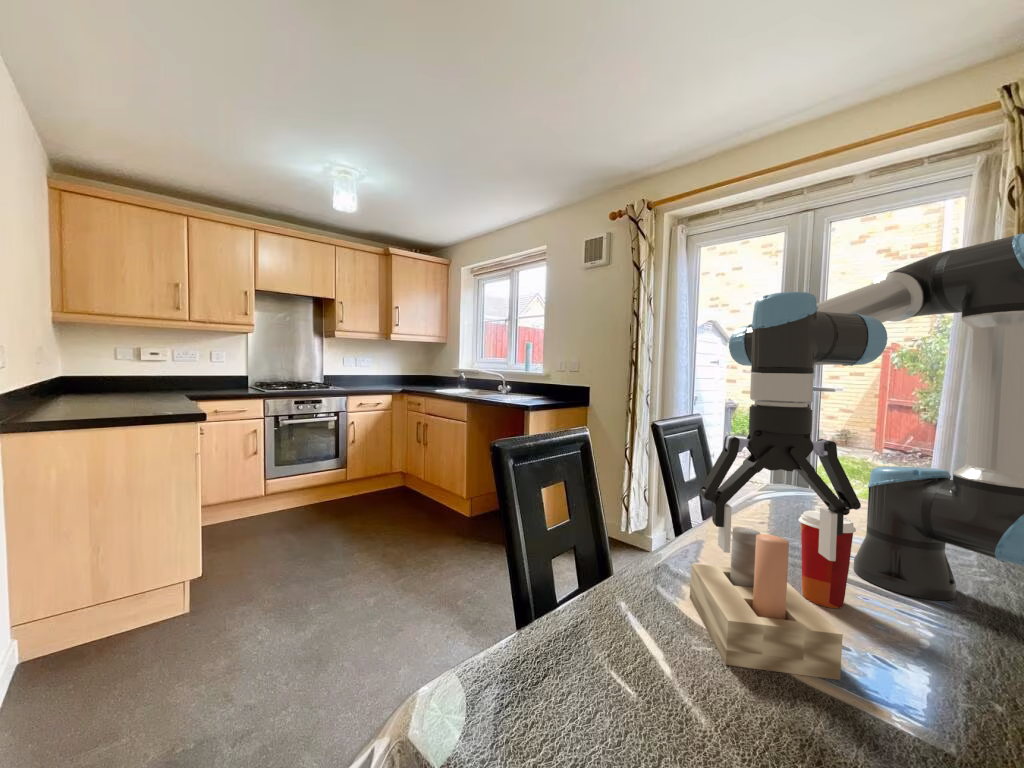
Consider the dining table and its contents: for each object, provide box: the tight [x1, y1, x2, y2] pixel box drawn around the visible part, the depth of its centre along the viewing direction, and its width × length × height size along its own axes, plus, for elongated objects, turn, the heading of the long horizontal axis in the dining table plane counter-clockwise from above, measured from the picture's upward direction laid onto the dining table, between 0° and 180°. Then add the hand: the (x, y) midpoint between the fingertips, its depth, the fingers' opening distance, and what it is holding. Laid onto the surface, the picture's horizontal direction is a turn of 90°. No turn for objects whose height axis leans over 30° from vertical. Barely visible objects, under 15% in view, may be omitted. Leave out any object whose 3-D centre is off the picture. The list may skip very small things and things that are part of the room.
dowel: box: [753, 533, 790, 620], centre depth 61 cm, size 4×4×14 cm
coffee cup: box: [798, 510, 857, 609], centre depth 76 cm, size 8×8×15 cm
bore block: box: [689, 526, 843, 681], centre depth 65 cm, size 14×18×14 cm
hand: (774, 553), depth 61 cm, fingers open, 13 cm apart
